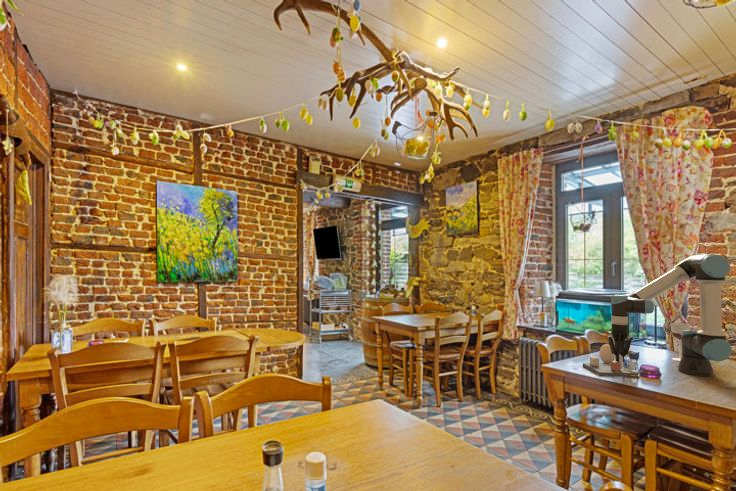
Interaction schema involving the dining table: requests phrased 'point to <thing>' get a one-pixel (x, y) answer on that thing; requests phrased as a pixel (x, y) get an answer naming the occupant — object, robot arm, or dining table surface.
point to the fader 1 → (594, 361)
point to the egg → (606, 354)
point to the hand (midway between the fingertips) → (619, 367)
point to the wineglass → (678, 334)
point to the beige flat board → (606, 370)
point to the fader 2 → (615, 366)
